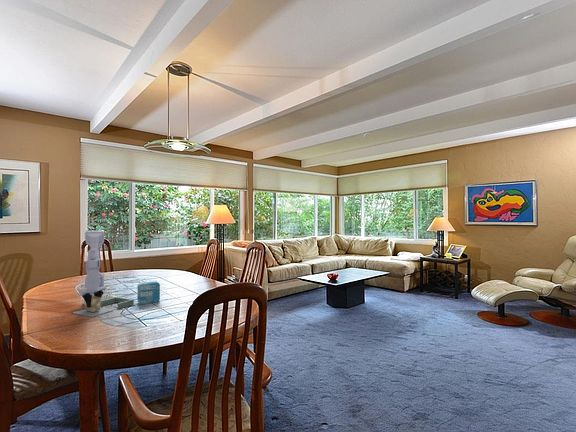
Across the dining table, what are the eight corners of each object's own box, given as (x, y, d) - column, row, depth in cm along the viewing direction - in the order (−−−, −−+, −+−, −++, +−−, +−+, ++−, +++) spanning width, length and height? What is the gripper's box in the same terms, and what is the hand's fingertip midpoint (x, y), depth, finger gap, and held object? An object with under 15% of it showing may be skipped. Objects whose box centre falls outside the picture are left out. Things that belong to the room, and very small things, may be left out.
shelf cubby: (100, 305, 184) (100, 300, 184) (116, 301, 193) (116, 296, 193) (118, 308, 178) (118, 303, 178) (133, 304, 187) (133, 299, 187)
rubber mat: (72, 313, 169) (72, 312, 169) (93, 307, 180) (93, 306, 180) (91, 317, 163) (91, 316, 163) (112, 311, 174) (112, 310, 174)
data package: (138, 304, 186) (138, 284, 186) (137, 303, 190) (137, 283, 190) (159, 301, 193) (160, 282, 193) (158, 300, 197) (158, 281, 197)
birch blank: (93, 311, 169) (93, 298, 169) (84, 310, 171) (84, 297, 171) (100, 309, 172) (100, 297, 172) (91, 308, 175) (91, 295, 175)
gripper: (84, 284, 163) (84, 310, 163) (110, 279, 177) (110, 303, 177) (75, 283, 166) (75, 308, 166) (101, 278, 180) (101, 302, 179)
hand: (92, 306), depth 172 cm, fingers closed on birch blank, 4 cm apart
